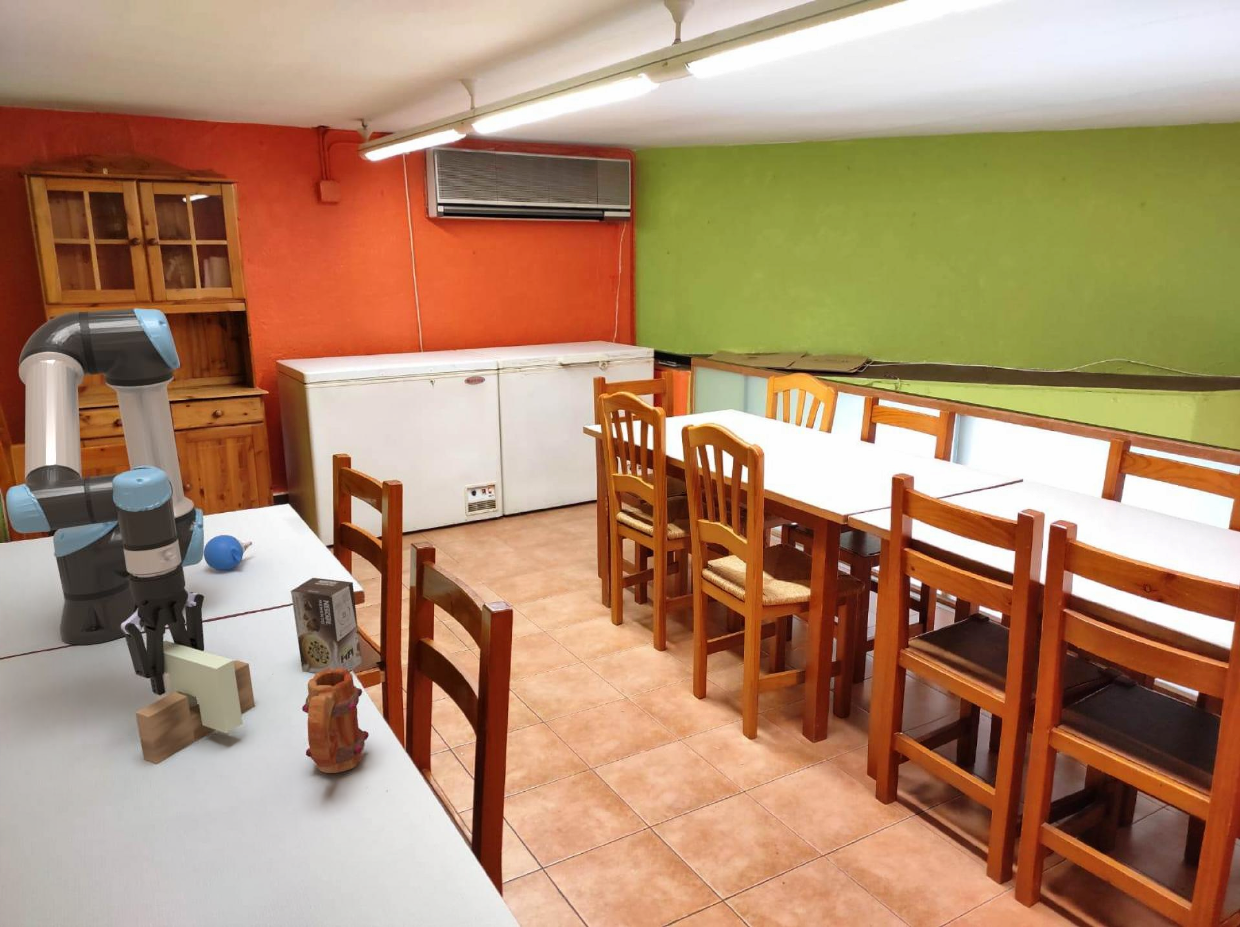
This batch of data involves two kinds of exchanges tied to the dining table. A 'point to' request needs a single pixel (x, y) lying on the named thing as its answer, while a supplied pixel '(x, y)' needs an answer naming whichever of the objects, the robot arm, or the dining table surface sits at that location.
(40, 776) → the dining table surface
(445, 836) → the dining table surface
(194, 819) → the dining table surface
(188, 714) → the walnut board
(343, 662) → the coffee box
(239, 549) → the blue rubber bulb
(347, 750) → the mug
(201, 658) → the sage board
